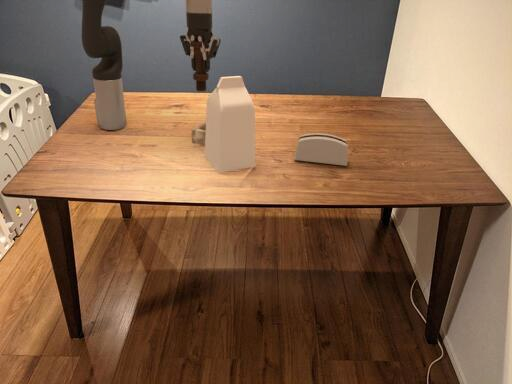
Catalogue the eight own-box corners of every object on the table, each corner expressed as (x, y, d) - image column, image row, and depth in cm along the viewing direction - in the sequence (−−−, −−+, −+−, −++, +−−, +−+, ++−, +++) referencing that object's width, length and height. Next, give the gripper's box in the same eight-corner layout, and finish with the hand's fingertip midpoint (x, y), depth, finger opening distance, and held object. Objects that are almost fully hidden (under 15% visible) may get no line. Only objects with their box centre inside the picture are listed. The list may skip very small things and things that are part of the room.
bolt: (206, 93, 125) (205, 42, 118) (191, 92, 126) (188, 41, 119) (211, 89, 131) (210, 40, 123) (196, 88, 131) (194, 39, 124)
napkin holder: (346, 162, 129) (351, 134, 123) (346, 170, 125) (352, 141, 120) (294, 156, 131) (297, 128, 125) (293, 163, 127) (296, 135, 121)
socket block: (191, 143, 136) (191, 129, 134) (210, 133, 145) (210, 119, 143) (218, 150, 132) (218, 135, 130) (235, 139, 141) (236, 125, 139)
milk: (218, 172, 118) (219, 83, 105) (204, 157, 126) (203, 73, 114) (255, 166, 123) (260, 80, 110) (239, 152, 131) (241, 71, 119)
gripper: (171, 9, 117) (175, 70, 125) (212, 13, 111) (213, 76, 120) (187, 8, 123) (189, 66, 131) (226, 11, 117) (226, 72, 126)
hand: (201, 70), depth 125 cm, fingers closed on bolt, 3 cm apart
